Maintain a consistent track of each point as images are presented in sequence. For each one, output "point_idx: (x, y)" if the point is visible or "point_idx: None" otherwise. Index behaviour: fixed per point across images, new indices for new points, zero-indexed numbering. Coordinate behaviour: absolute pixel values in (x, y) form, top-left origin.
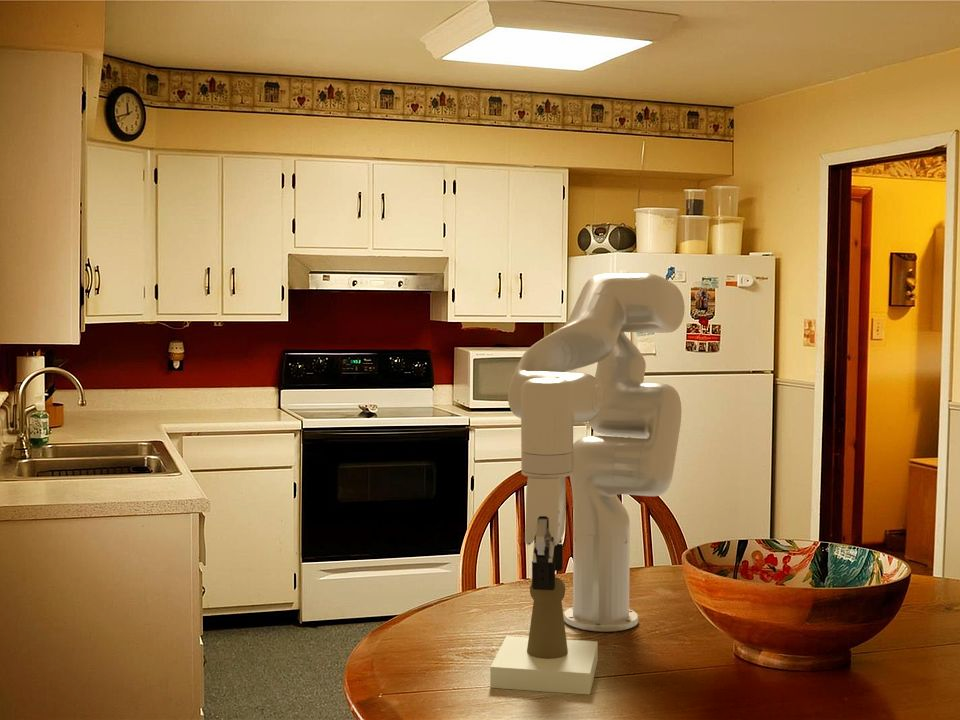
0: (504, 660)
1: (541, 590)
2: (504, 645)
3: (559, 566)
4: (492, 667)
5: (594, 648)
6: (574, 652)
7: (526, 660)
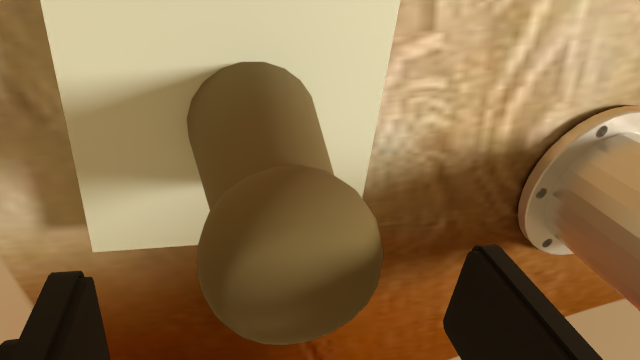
0: None
1: (200, 259)
2: None
3: (452, 336)
4: None
5: None
6: None
7: (152, 69)
